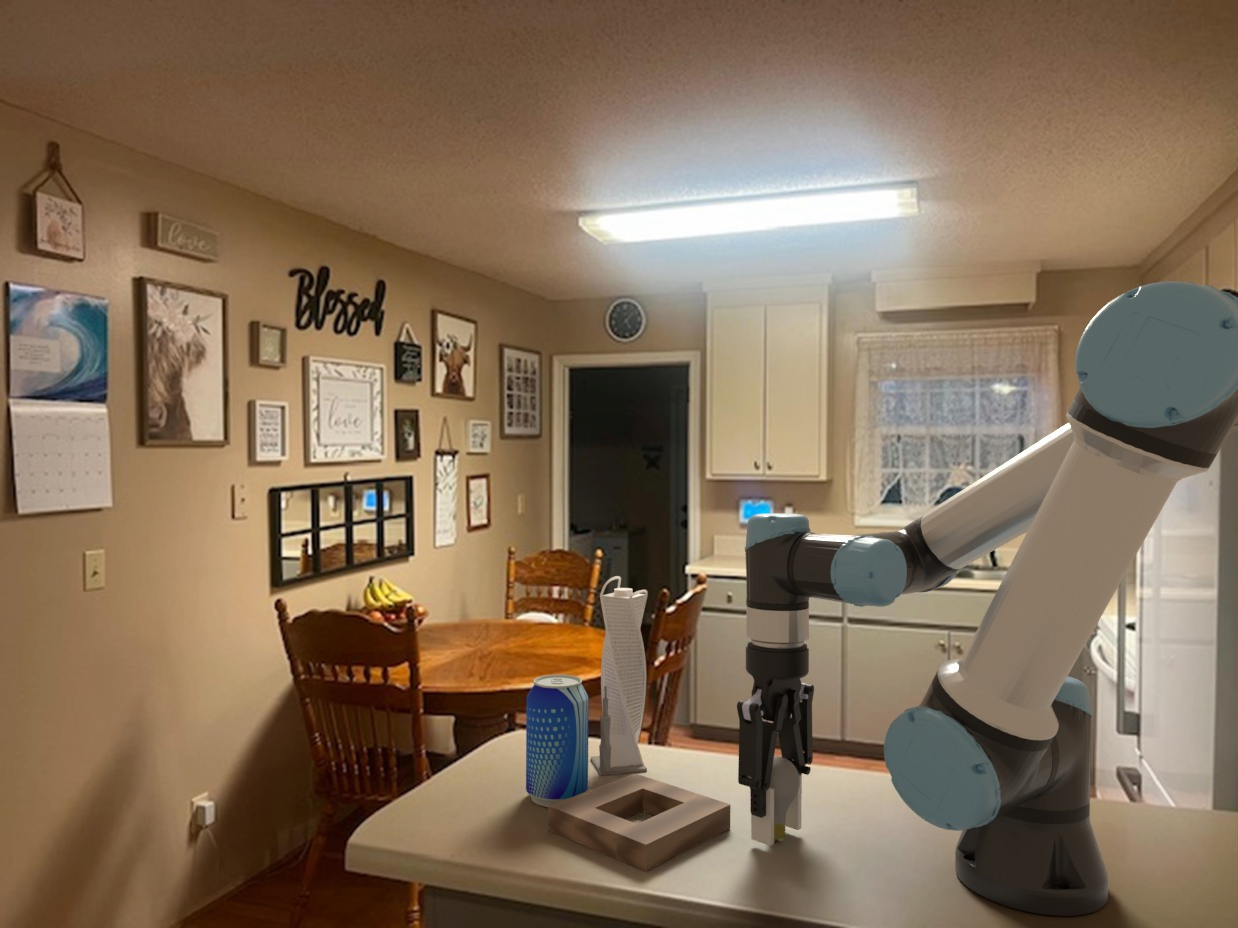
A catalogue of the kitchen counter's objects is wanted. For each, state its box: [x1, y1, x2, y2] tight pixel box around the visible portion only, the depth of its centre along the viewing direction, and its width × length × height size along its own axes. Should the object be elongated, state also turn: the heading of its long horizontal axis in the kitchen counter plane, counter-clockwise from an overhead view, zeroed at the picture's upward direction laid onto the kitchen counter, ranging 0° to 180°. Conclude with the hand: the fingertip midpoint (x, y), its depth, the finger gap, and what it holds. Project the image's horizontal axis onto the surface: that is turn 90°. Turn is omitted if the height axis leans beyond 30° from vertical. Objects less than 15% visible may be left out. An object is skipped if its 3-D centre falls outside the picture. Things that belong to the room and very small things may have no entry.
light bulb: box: [761, 755, 800, 842], centre depth 107 cm, size 6×6×10 cm
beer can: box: [525, 674, 590, 808], centre depth 120 cm, size 8×8×16 cm
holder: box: [548, 772, 731, 872], centre depth 110 cm, size 16×16×3 cm
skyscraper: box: [590, 575, 649, 776], centre depth 134 cm, size 8×8×28 cm
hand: (776, 833), depth 107 cm, fingers closed on light bulb, 5 cm apart
